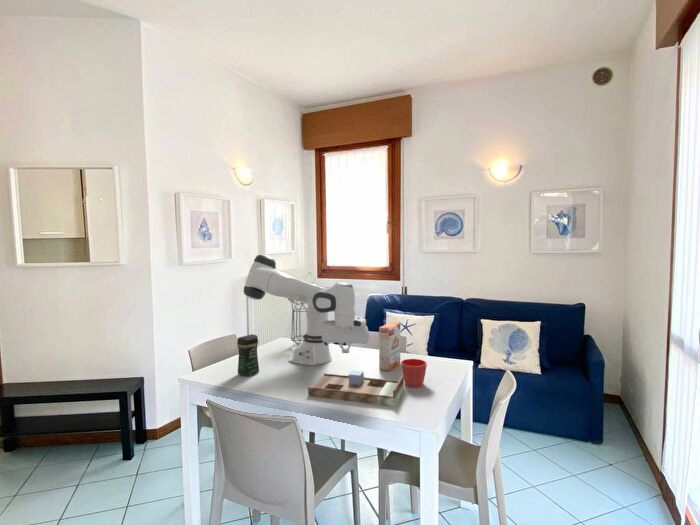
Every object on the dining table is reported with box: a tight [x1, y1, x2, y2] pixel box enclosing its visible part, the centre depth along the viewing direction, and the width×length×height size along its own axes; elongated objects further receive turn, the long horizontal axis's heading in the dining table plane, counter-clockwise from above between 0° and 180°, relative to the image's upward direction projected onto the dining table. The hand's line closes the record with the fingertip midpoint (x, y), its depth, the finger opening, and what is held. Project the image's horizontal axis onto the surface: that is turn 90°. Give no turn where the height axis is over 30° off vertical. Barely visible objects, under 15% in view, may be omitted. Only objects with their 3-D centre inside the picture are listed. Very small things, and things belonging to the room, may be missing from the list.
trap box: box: [307, 373, 405, 407], centre depth 158 cm, size 36×17×6 cm, turn 71°
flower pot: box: [400, 358, 428, 388], centre depth 166 cm, size 11×11×10 cm
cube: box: [348, 370, 365, 385], centre depth 162 cm, size 5×5×4 cm
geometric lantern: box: [287, 298, 308, 346], centre depth 232 cm, size 16×16×35 cm
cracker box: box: [378, 321, 401, 372], centre depth 190 cm, size 14×6×21 cm, turn 150°
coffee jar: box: [236, 334, 260, 377], centre depth 184 cm, size 10×8×19 cm
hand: (345, 352), depth 163 cm, fingers closed
